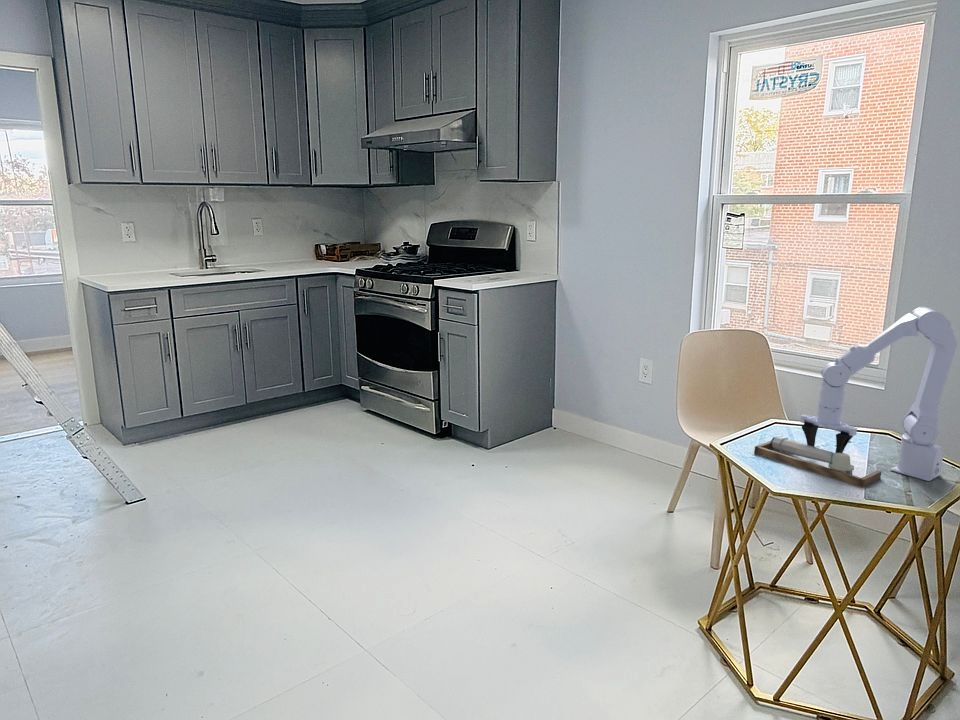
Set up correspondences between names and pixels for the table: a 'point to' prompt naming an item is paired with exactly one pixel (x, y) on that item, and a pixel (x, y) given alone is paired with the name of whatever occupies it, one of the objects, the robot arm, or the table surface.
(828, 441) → the table surface
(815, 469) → the walnut bay
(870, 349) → the robot arm
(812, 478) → the table surface
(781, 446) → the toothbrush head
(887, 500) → the table surface
